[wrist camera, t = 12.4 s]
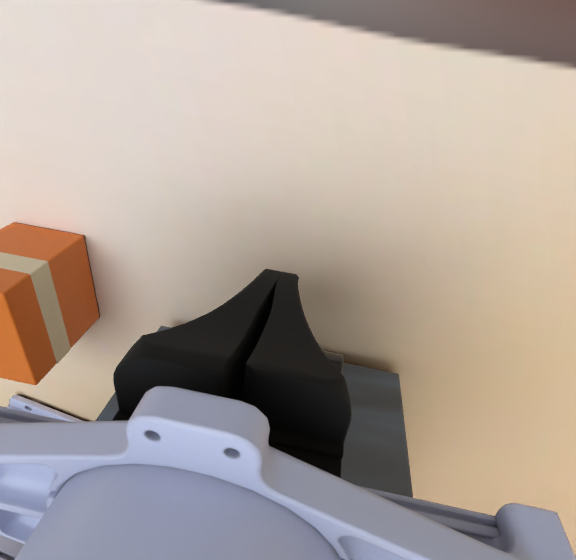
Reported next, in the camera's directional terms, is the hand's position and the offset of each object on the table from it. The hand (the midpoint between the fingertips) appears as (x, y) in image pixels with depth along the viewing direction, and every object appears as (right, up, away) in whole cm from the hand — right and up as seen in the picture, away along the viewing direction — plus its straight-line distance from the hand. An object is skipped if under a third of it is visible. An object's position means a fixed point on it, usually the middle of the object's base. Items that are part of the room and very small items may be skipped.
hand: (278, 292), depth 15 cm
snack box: (-13, +1, +7) cm, 14 cm away
